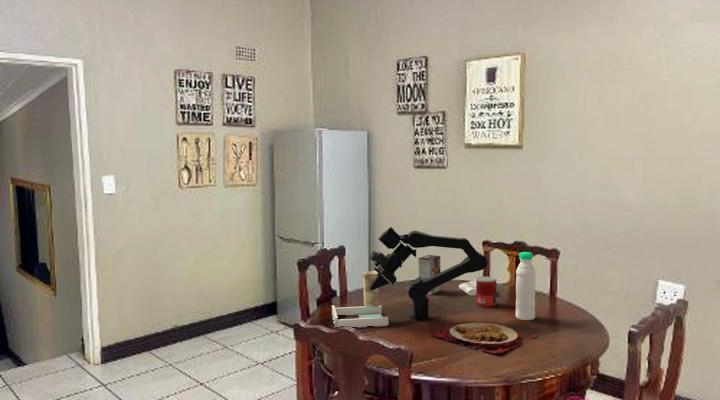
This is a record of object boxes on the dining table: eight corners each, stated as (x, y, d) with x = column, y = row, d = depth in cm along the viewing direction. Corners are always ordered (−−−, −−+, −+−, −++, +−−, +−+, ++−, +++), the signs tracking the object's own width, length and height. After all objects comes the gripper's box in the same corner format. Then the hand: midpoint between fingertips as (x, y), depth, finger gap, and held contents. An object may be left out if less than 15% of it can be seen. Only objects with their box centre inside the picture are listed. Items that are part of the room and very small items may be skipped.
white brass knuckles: (456, 288, 248) (485, 286, 251) (470, 298, 230) (502, 296, 233) (456, 281, 248) (485, 279, 250) (470, 291, 230) (502, 289, 233)
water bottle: (536, 321, 197) (537, 254, 195) (516, 320, 199) (517, 254, 196) (533, 315, 204) (534, 251, 202) (514, 314, 206) (515, 250, 203)
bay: (381, 312, 211) (381, 302, 211) (388, 325, 195) (388, 315, 195) (332, 315, 208) (331, 305, 208) (335, 328, 193) (335, 317, 192)
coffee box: (428, 288, 247) (428, 254, 246) (441, 290, 243) (440, 255, 242) (418, 292, 240) (418, 257, 239) (431, 294, 236) (430, 259, 235)
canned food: (498, 307, 216) (498, 280, 215) (478, 307, 216) (478, 280, 215) (493, 302, 223) (493, 276, 222) (474, 302, 223) (474, 276, 222)
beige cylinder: (376, 302, 205) (375, 270, 203) (378, 306, 200) (378, 273, 199) (363, 303, 204) (362, 271, 203) (365, 307, 199) (364, 274, 198)
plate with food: (499, 359, 164) (499, 348, 164) (430, 337, 183) (430, 327, 182) (537, 340, 181) (537, 330, 181) (471, 321, 200) (471, 312, 200)
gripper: (378, 239, 210) (351, 268, 209) (386, 247, 191) (357, 279, 191) (398, 258, 211) (371, 287, 211) (408, 268, 193) (379, 299, 192)
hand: (369, 288), depth 201 cm, fingers closed on beige cylinder, 5 cm apart
